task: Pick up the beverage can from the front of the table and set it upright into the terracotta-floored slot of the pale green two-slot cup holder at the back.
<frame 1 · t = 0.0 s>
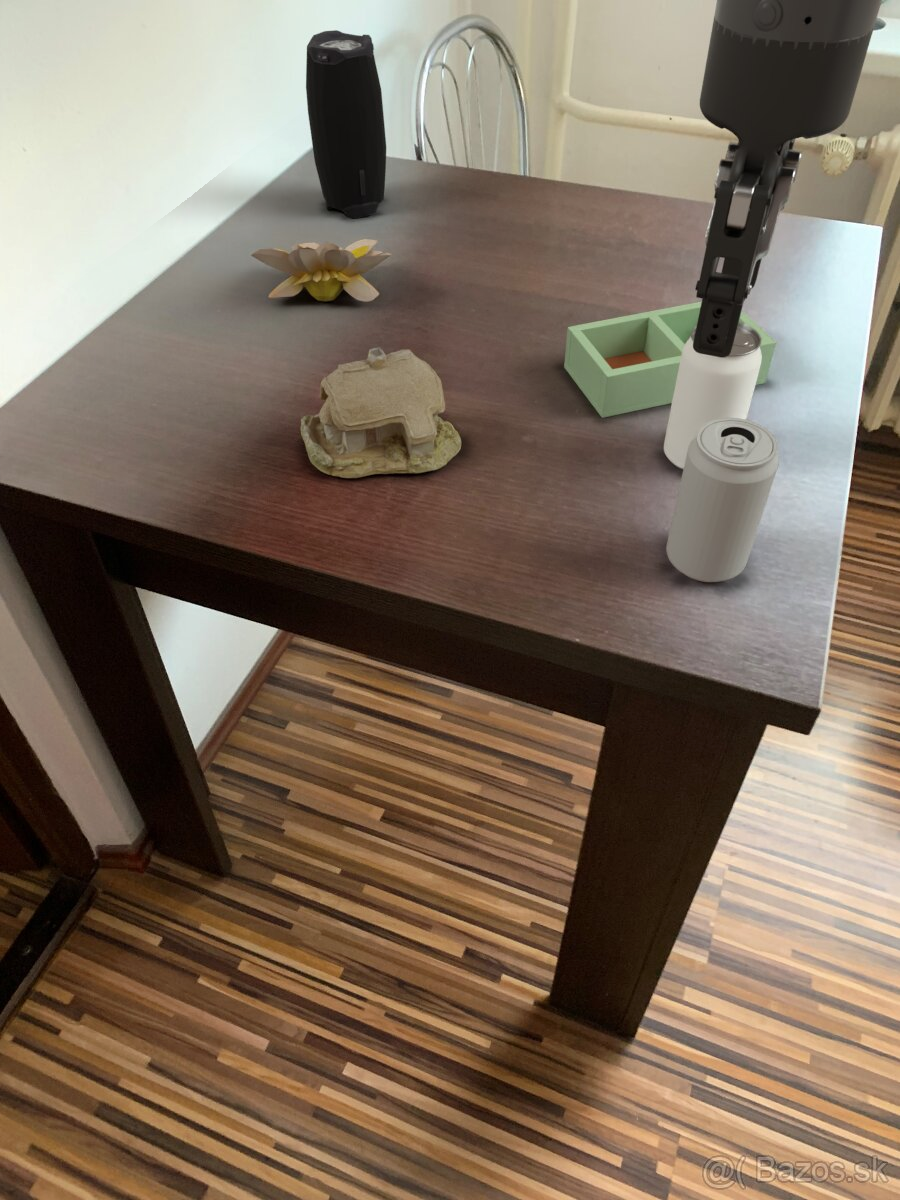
hand: (724, 317, 55), 22 cm above the table, tool pointing down, fingers open, 8 cm apart
can: (698, 456, 81), on the table
decorative flower: (333, 294, 103), on the table
portable speaker: (355, 207, 118), on the table
beverage can: (704, 561, 72), on the table
cup holder: (663, 375, 90), on the table
ceramic model: (382, 447, 83), on the table
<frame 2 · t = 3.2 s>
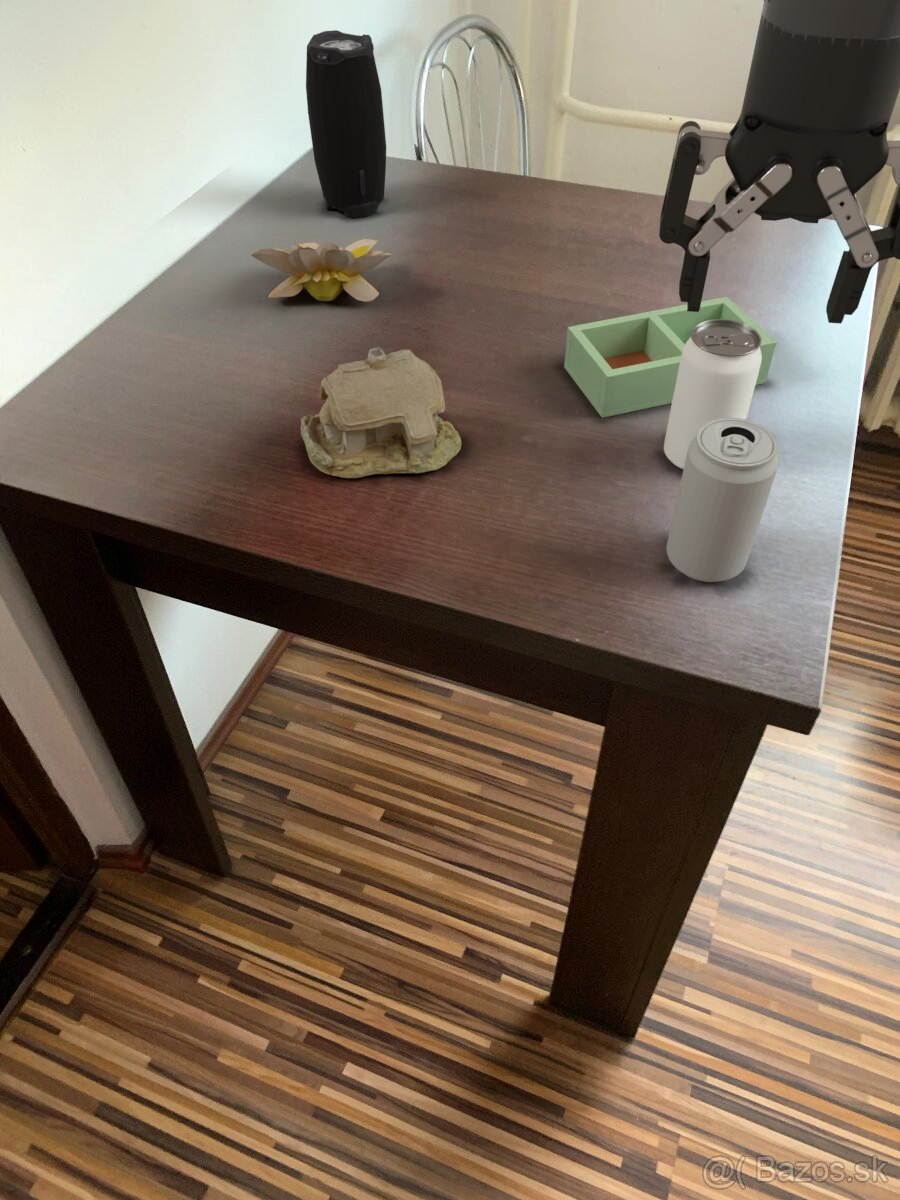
hand: (762, 311, 55), 22 cm above the table, tool pointing down, fingers open, 8 cm apart
nothing on the table moved.
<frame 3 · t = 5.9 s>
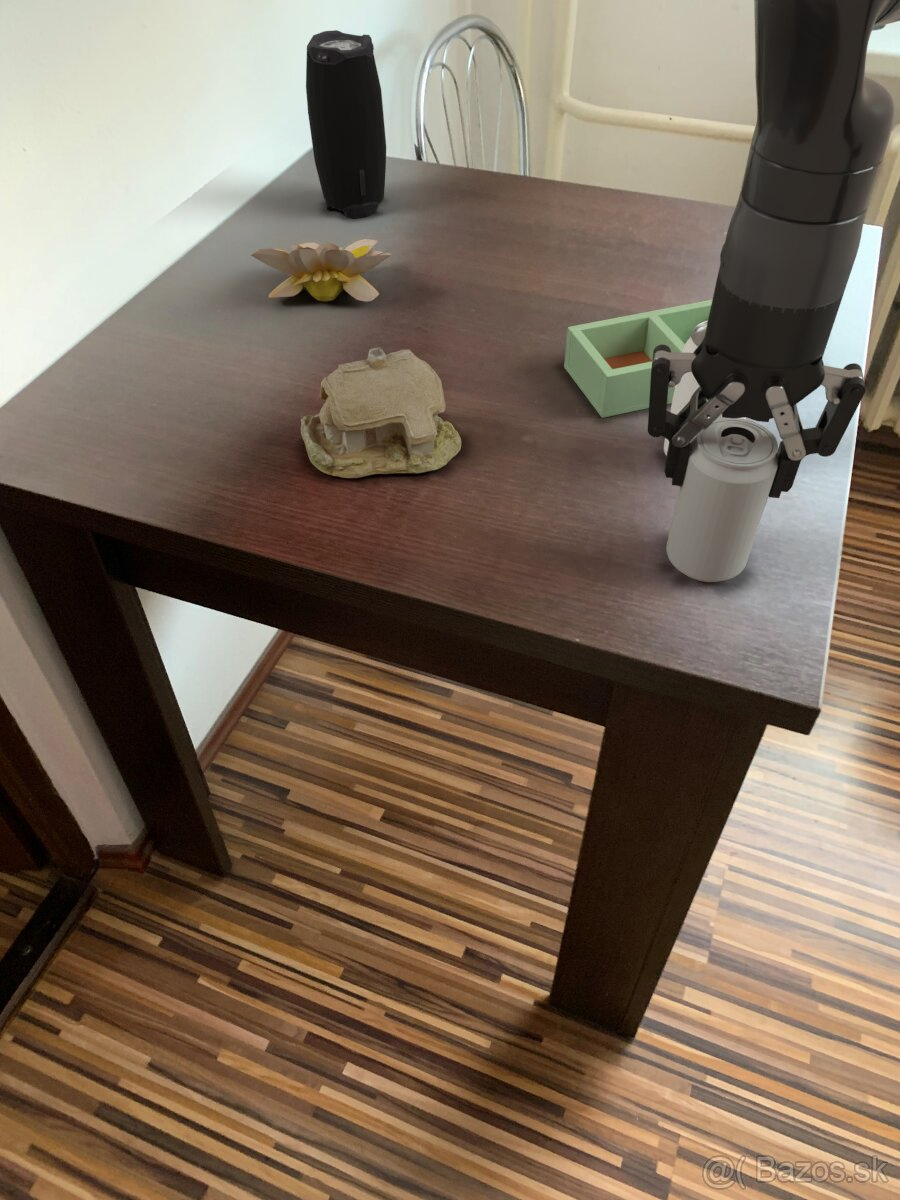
hand: (724, 484, 66), 8 cm above the table, tool pointing down, fingers closed on beverage can, 6 cm apart
beverage can: (704, 561, 72), on the table, touching gripper
everything else where it was.
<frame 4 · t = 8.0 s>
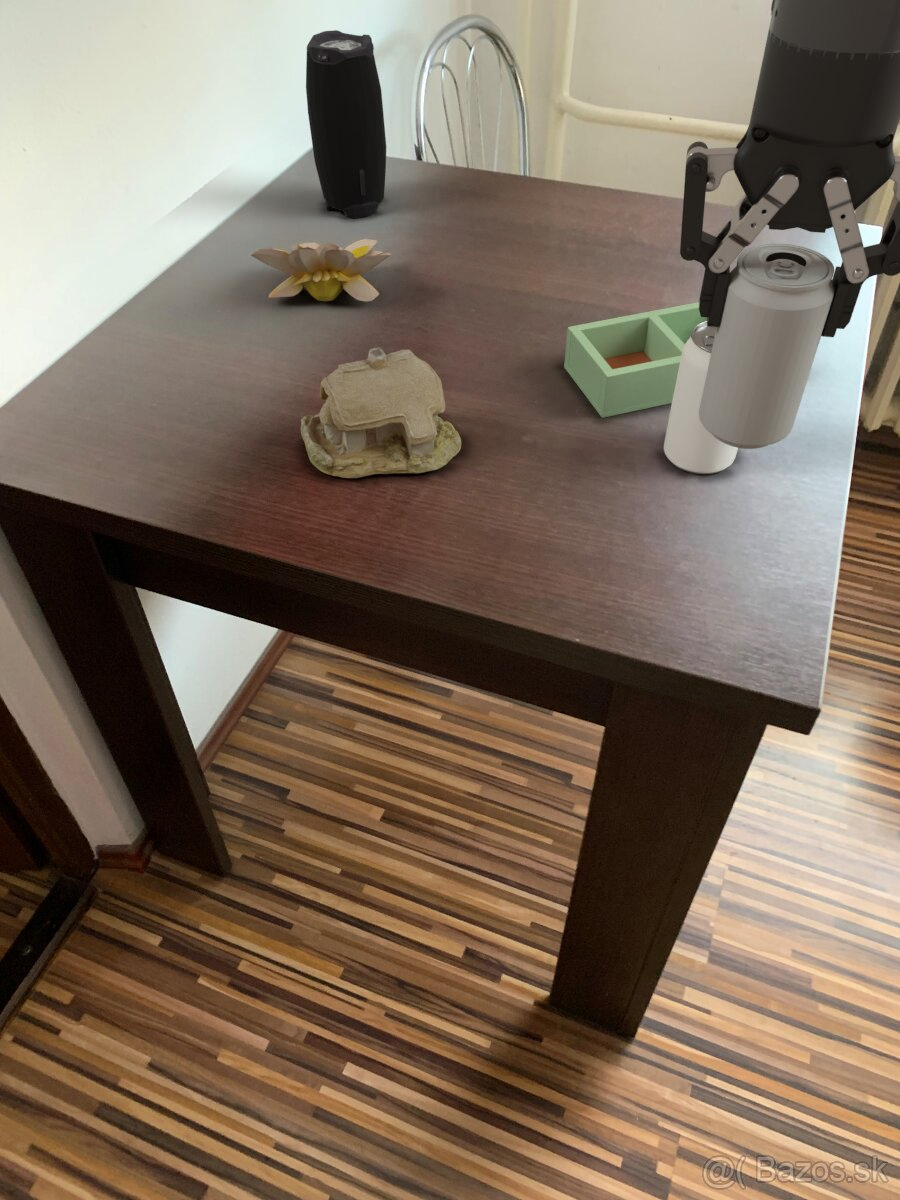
hand: (769, 325, 56), 21 cm above the table, tool pointing down, fingers closed on beverage can, 6 cm apart
beverage can: (742, 429, 62), point 13 cm above the table, touching gripper
everything else where it was.
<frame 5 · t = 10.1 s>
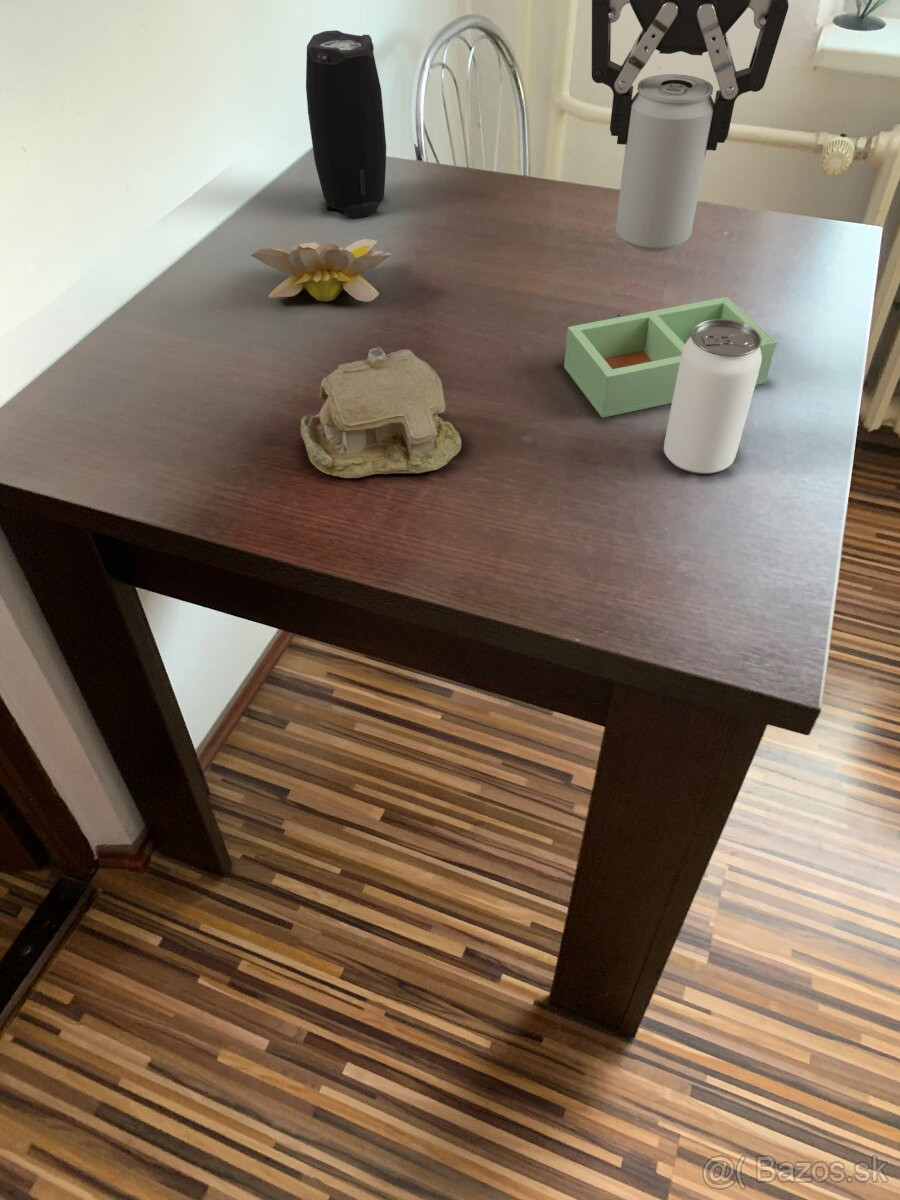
hand: (666, 143, 70), 23 cm above the table, tool pointing down, fingers closed on beverage can, 6 cm apart
beverage can: (651, 241, 76), point 16 cm above the table, touching gripper
everything else where it was.
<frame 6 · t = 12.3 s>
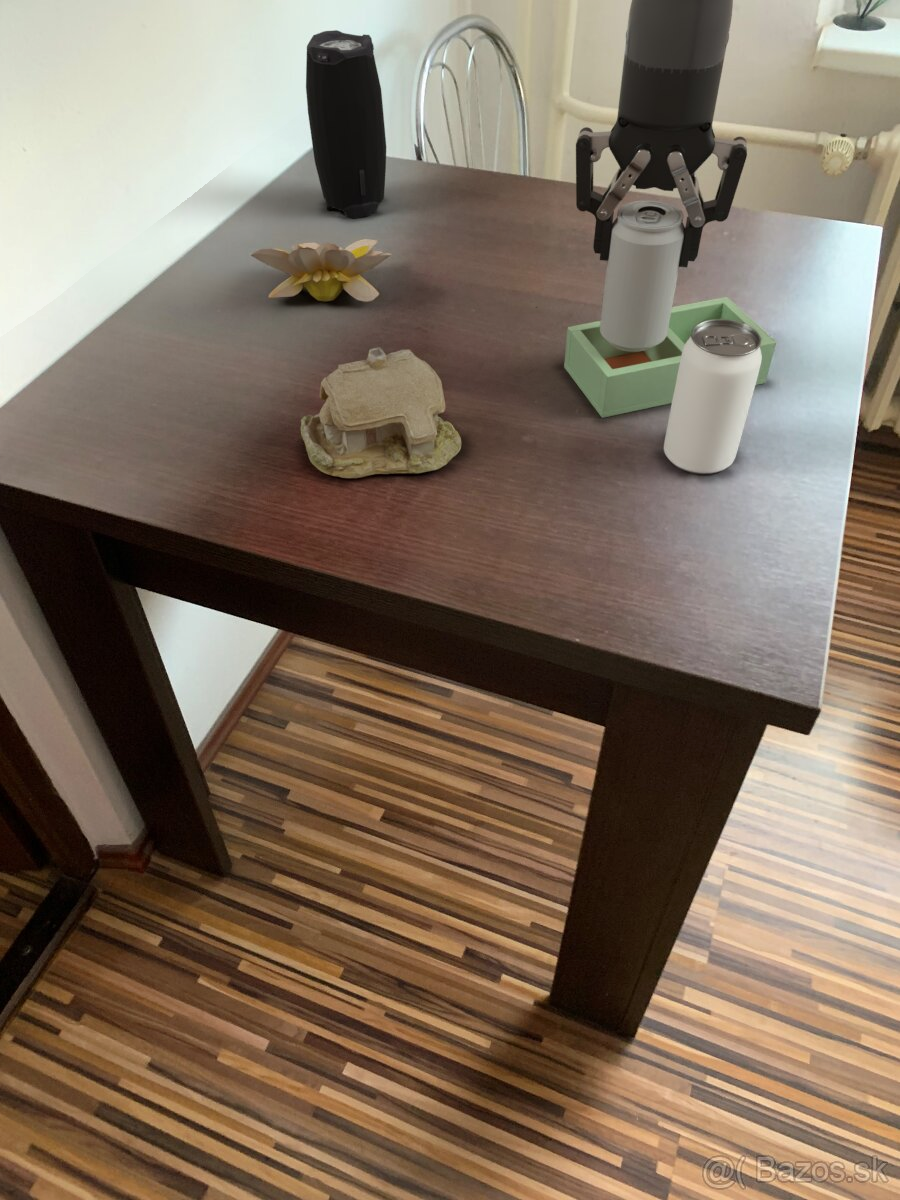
hand: (643, 259, 79), 13 cm above the table, tool pointing down, fingers closed on beverage can, 6 cm apart
beverage can: (631, 339, 85), point 5 cm above the table, touching gripper
everything else where it was.
when the fingers open (9 cm above the table, at t = 14.1 s): beverage can stays where it is, resting on cup holder.
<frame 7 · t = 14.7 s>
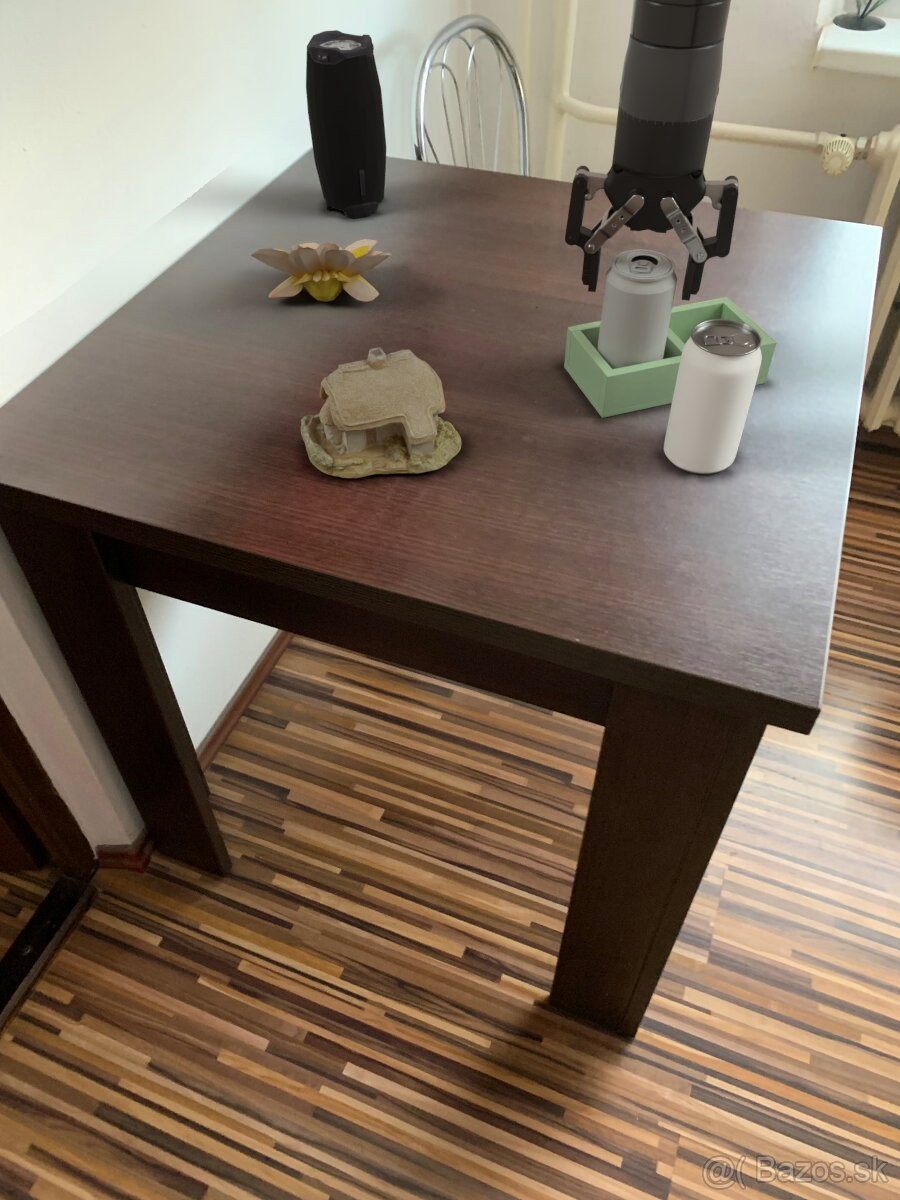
hand: (639, 292, 82), 10 cm above the table, tool pointing down, fingers open, 8 cm apart
beverage can: (626, 379, 88), point 1 cm above the table, touching cup holder
everything else where it was.
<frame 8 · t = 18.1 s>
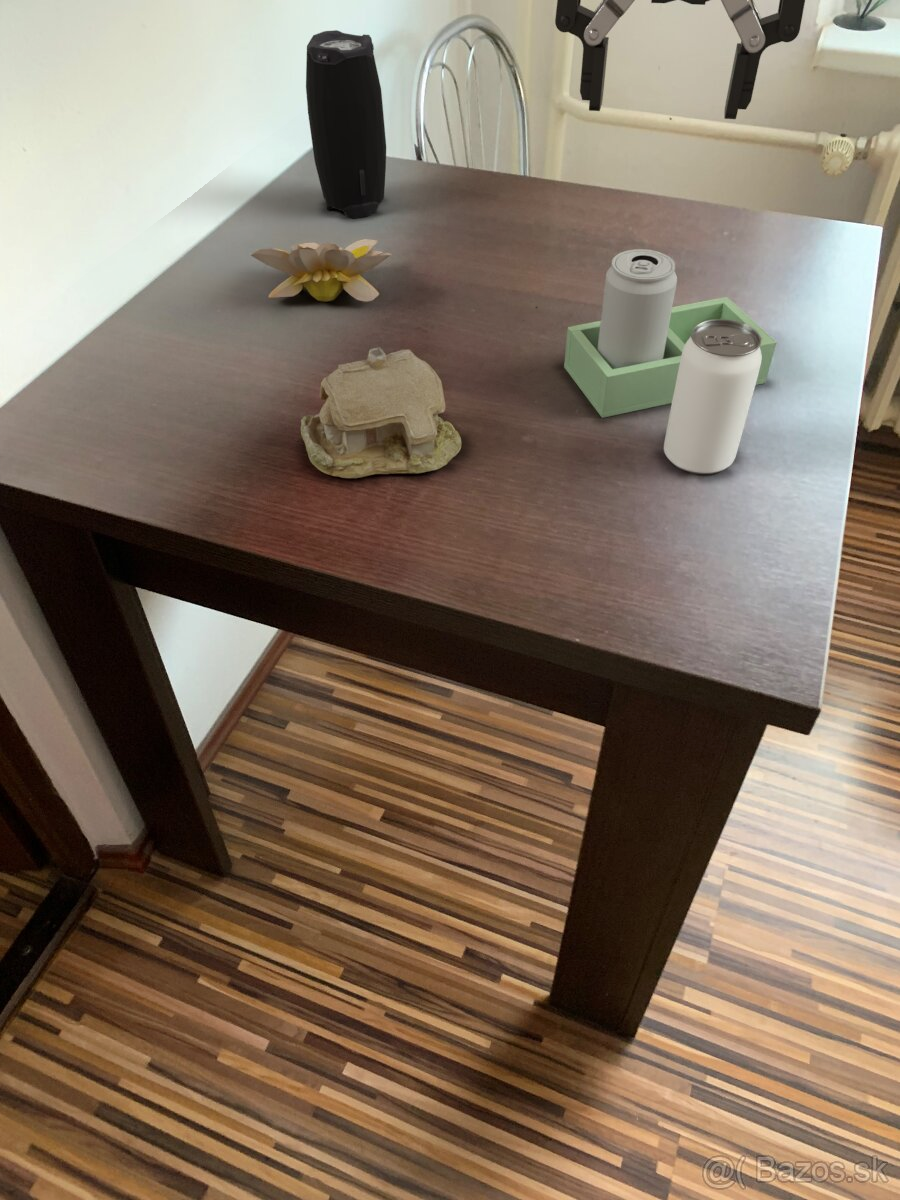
hand: (662, 111, 57), 30 cm above the table, tool pointing down, fingers open, 8 cm apart
nothing on the table moved.
at the end: beverage can 0.3 cm from the target spot in the cup holder, point 0.6 cm above the cup holder's base; beverage can tilted 0°; the gripper is holding nothing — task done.
